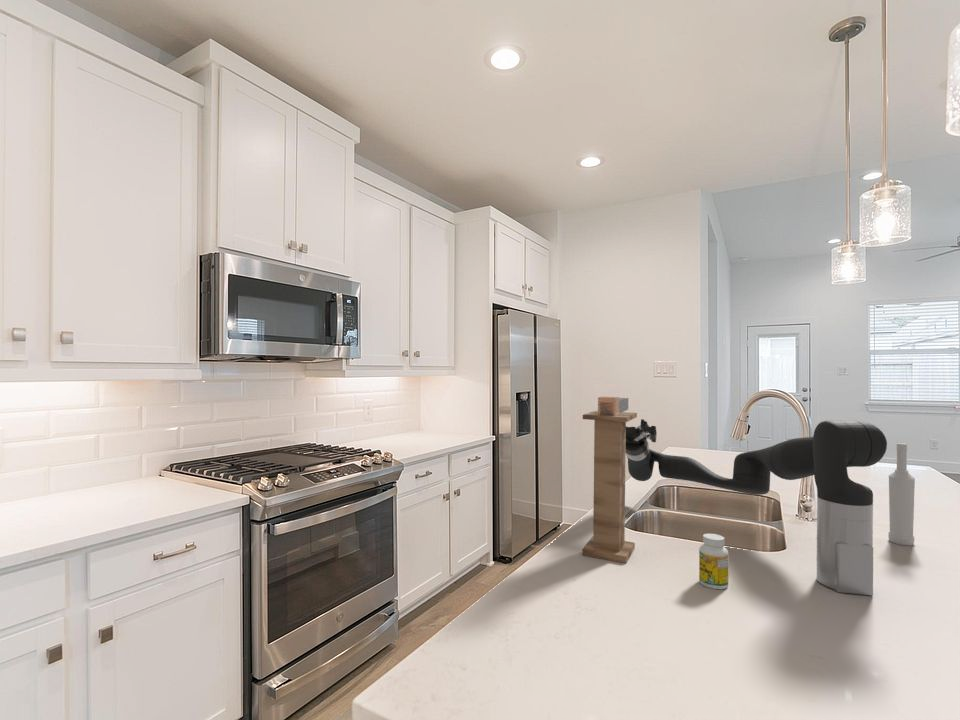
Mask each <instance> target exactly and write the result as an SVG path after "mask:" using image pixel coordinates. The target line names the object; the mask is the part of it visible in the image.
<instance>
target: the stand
mask: <svg viewBox="0 0 960 720" xmlns="http://www.w3.org/2000/svg"><path fill="white" fill-rule="evenodd" d="M637 414H638V412H627V411H624V412H621V413H619V415H616V416H609V415H598V410H594V411H590V412H587V413H584V414H582V420H592V421H594V439H593V440H594V441H593V443H594V444H593V445H594V446H593V450H594V451H593V510H592V511H593V515H592V516H593V517H592V518H593V523H592V524H593V526H592V532H593V533H592V534H593V535H592V537H591V538H590V539H589V540H588V541H587V542H586V543H585V545H584V546H583V547H582V550H581V554H582V556H586V557H592V558H596V559H602V560H607V561H610V562H611V561H612V562H617V563H623V564H627V563H628V562H629V560H630V558H631V556H632V555H633V552H634V550H635V549H636V548H635V545H636V542H632V541H627V540H625V538H626V537H625V536H626V535H625V534H626V533H625V530H626V529H625V528H626V527H625V525H626V523H625V521H626V516H625V515H626V454H625V453H626V426H627V423H628V422H630V421H632V420H634V419H636V418H637V416H638V415H637Z"/></svg>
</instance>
